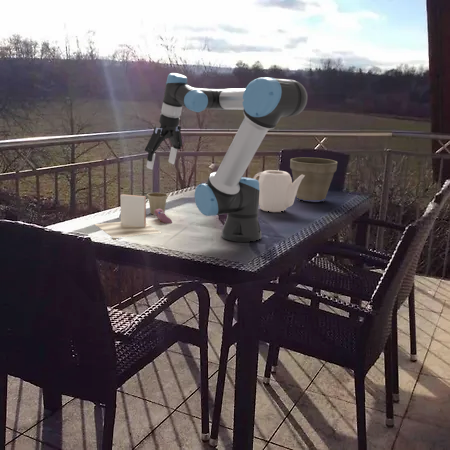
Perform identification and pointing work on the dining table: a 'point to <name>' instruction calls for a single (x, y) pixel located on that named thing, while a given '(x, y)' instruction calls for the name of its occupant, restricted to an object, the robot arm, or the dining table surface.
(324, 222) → the dining table surface
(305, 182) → the plant pot
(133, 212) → the tile
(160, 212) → the video game controller
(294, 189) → the watering can
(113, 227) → the board
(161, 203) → the flower pot
